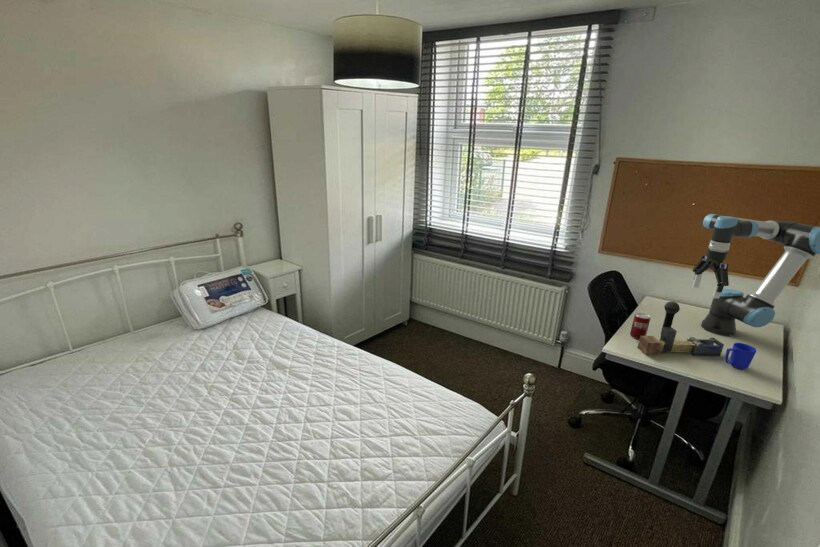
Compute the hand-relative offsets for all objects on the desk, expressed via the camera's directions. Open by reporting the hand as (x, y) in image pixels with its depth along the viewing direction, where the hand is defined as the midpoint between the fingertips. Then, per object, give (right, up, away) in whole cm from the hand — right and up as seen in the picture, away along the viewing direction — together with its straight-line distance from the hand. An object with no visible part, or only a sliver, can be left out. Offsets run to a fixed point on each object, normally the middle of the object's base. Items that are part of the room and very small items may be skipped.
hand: (705, 292), depth 191 cm
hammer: (-14, -28, +2) cm, 31 cm away
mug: (+7, -34, -8) cm, 35 cm away
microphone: (-9, -24, +17) cm, 31 cm away
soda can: (-23, -24, +17) cm, 37 cm away
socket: (-26, -29, +3) cm, 39 cm away
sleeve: (+1, -29, +3) cm, 29 cm away
